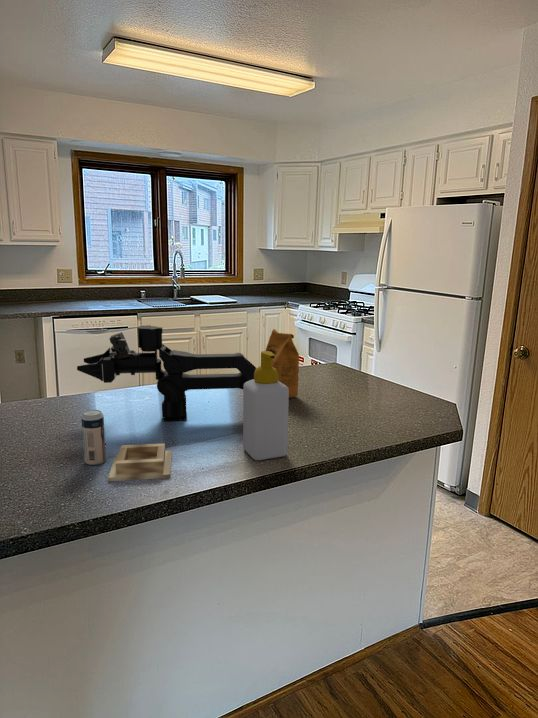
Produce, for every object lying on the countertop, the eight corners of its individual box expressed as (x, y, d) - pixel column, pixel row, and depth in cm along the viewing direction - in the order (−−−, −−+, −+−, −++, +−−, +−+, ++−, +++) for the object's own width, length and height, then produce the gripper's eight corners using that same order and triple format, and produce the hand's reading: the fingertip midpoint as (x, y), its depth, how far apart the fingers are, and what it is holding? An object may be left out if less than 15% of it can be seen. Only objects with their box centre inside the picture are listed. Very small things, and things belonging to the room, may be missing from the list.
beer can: (110, 461, 117) (107, 412, 114) (91, 468, 113) (87, 417, 110) (99, 455, 120) (96, 407, 117) (80, 461, 116) (77, 412, 114)
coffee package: (282, 389, 177) (284, 327, 172) (301, 398, 166) (303, 333, 161) (257, 392, 172) (258, 329, 167) (275, 402, 162) (277, 335, 157)
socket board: (171, 453, 122) (171, 440, 121) (170, 477, 109) (169, 463, 108) (116, 456, 120) (115, 443, 119) (108, 481, 107) (107, 466, 106)
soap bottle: (254, 462, 117) (255, 357, 112) (241, 448, 125) (241, 349, 120) (289, 456, 121) (292, 354, 115) (274, 443, 129) (276, 347, 123)
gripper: (140, 329, 148) (85, 329, 146) (134, 341, 130) (71, 342, 128) (141, 365, 151) (87, 366, 148) (136, 382, 133) (74, 384, 130)
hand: (80, 364), depth 139 cm, fingers open, 9 cm apart
